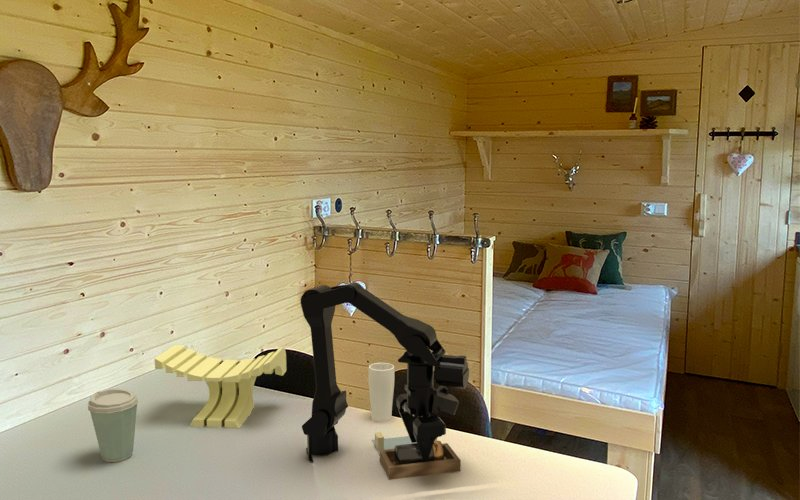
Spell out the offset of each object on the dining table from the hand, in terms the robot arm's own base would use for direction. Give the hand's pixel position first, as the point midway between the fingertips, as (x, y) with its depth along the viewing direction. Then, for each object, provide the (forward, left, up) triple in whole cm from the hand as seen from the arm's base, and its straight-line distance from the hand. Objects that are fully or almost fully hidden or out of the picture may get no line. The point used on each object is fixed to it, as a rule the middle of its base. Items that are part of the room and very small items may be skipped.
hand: (419, 450), depth 145 cm
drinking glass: (-2, +29, -5) cm, 29 cm away
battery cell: (0, 0, -4) cm, 4 cm away
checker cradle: (0, +11, -4) cm, 12 cm away
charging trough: (0, 0, -4) cm, 4 cm away
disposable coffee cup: (-66, +23, -5) cm, 70 cm away
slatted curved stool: (-42, +43, -5) cm, 60 cm away
